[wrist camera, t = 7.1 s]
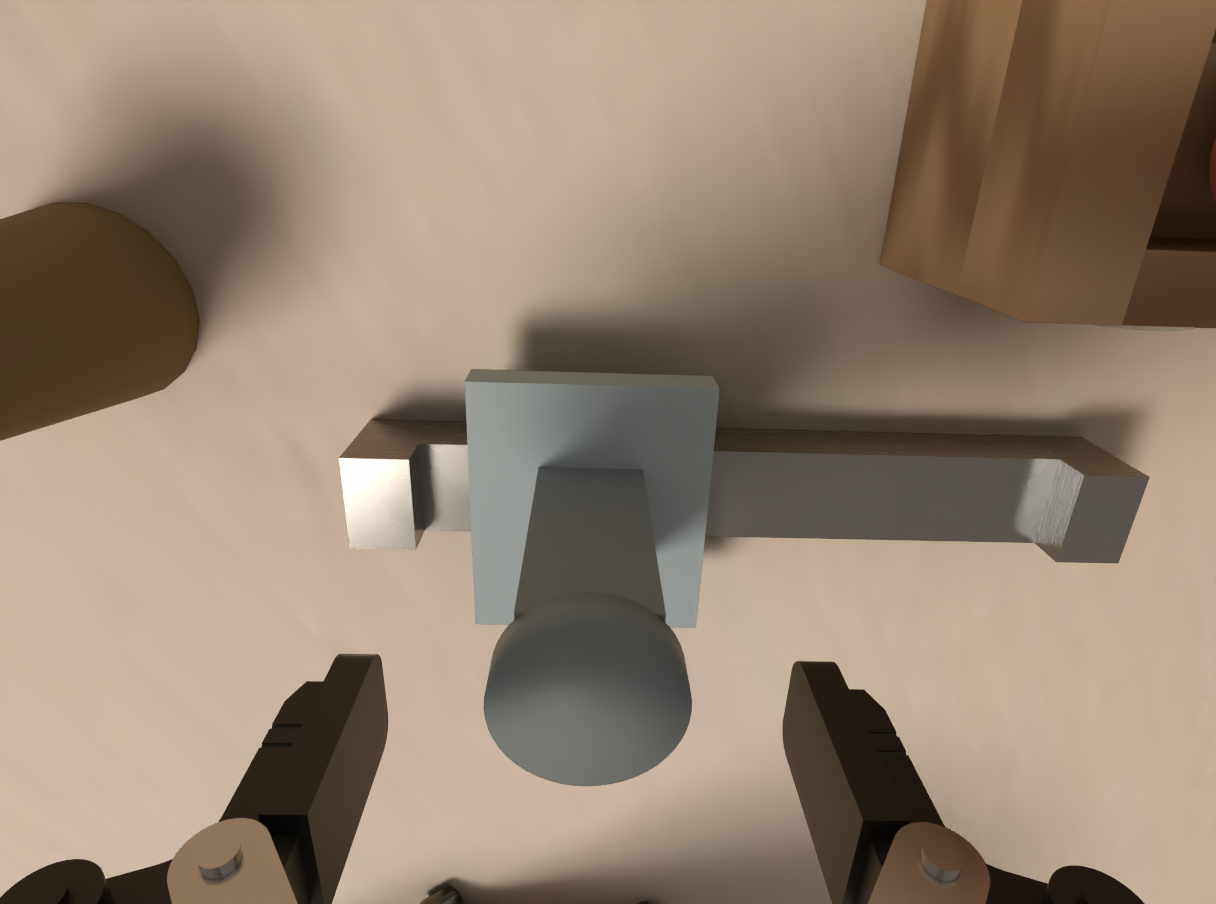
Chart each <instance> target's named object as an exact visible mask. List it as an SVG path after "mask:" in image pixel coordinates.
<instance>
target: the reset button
mask: <svg viewBox="0 0 1216 904" xmlns="http://www.w3.org/2000/svg"><path fill="white" fill-rule="evenodd" d="M1209 177H1210V186H1211V190H1212V194H1213V197H1214V200H1215V202H1216V138H1215V141H1214V145H1213V148H1212V152H1211V158H1210V169H1209Z"/></svg>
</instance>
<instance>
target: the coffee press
mask: <svg viewBox="0 0 1216 904" xmlns="http://www.w3.org/2000/svg"><path fill="white" fill-rule="evenodd" d="M420 904H463V901H462V899H461V896H460V894H459V893H458V892H457V890H456V889H454V888H453V887H450V886H448V887H445V888H443V889H441V890H440V891H438V892H436V893H434V894H433V895H431V896H429V897H427V898H426V899H424V900H422V901H421V903H420ZM638 904H650V903H648V902H640V903H638Z"/></svg>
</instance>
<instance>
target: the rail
mask: <svg viewBox="0 0 1216 904" xmlns="http://www.w3.org/2000/svg"><path fill="white" fill-rule="evenodd" d="M339 463H340V471H341V480H342V488H343V496H344V504H345V513H346V521H347V529H348V537H349V545H350V548H352V549H404V550H416V549H417V546H418V544H419V542H420V540H421V537H422V535H423V533H424V531H471V511H470V488H469V466H468V444H467V422H445V421H405V420H370V421H369V422H368V423H367V425H366V426H365V427H364V428H363V429H362V431H361V432H360V433H359V434H358V436H357V437H356V438H355V439H354V440H353V442H352V443H351V444H350V445H349V446H348V448H347V449H346V450H345V451H344V453H343V454H342V455H341V456H340V457H339ZM1148 480H1149V476H1147V475H1145V474H1143V473H1142V472H1140V471H1138V470H1137V469H1135V468H1133V467H1131V466H1130V465H1128V464H1126V463H1125V462H1123V461H1121V460H1119V459H1118V458H1116V457H1114V456H1113V455H1111V454H1109V453H1107V452H1106V451H1104V450H1102V449H1101V448H1099V447H1097V446H1095V445H1094V444H1092V443H1090V442H1089V441H1087V440H1085V439H1084V438H1081V437H1041V436H1001V435H961V434H922V433H882V432H842V431H802V430H763V429H723V428H716V432H715V442H714V452H713V462H712V472H711V482H710V492H709V502H708V512H707V522H706V532H705V536H723V537H772V538H822V539H872V540H921V541H971V542H1020V543H1035V544H1036V545H1038V546H1039V547H1040V548H1041V549H1042V550H1043V551H1044V552H1045V553H1047V554H1048V555H1049V556H1050V557H1051V558H1052V559H1053V560H1055V561H1056V562H1079V563H1119V560H1120V557H1121V554H1122V552H1123V549H1124V546H1125V543H1126V541H1127V538H1128V535H1129V532H1130V530H1131V527H1132V524H1133V521H1134V519H1135V516H1136V513H1137V510H1138V508H1139V505H1140V502H1141V499H1142V497H1143V494H1144V491H1145V488H1146V485H1147V483H1148Z"/></svg>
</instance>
